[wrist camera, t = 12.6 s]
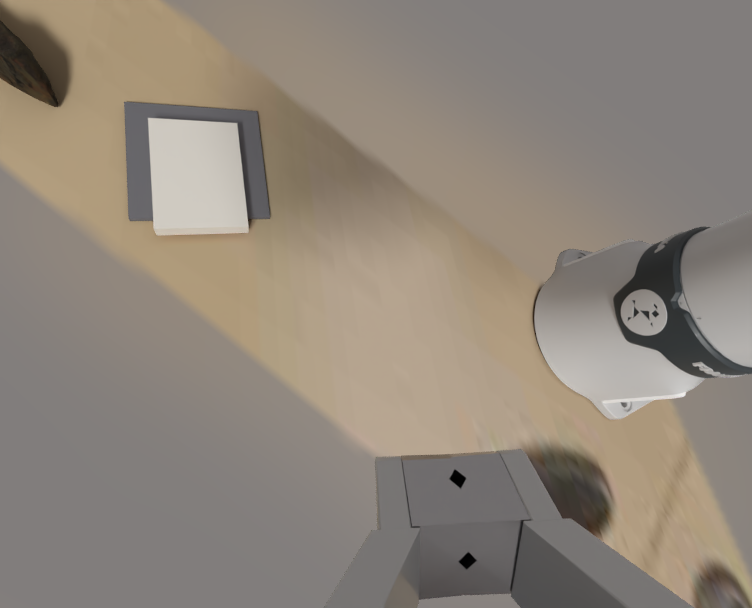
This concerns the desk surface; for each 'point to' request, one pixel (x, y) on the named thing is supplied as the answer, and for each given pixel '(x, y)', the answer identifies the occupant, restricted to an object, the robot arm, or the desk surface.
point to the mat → (246, 120)
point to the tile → (196, 177)
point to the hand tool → (23, 68)
